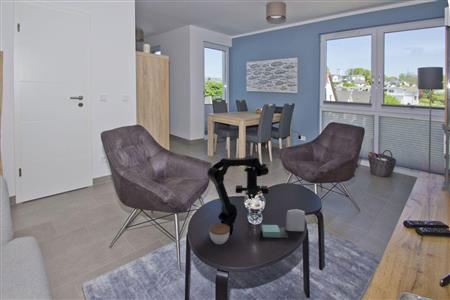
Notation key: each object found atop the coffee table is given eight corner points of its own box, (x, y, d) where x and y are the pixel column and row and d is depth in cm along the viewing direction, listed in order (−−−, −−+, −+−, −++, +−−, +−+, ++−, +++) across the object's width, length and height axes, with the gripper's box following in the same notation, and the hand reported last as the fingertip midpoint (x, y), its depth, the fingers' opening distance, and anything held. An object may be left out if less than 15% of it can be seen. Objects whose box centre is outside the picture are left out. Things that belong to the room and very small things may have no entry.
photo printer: (286, 231, 168) (287, 211, 166) (285, 227, 173) (286, 207, 170) (304, 232, 168) (306, 211, 165) (303, 228, 172) (304, 208, 169)
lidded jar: (233, 239, 159) (233, 223, 157) (222, 249, 150) (223, 232, 148) (216, 234, 165) (216, 218, 162) (205, 243, 156) (205, 226, 153)
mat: (266, 237, 162) (266, 236, 162) (263, 227, 172) (263, 227, 172) (288, 237, 161) (288, 237, 161) (284, 228, 172) (284, 227, 172)
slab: (263, 231, 161) (280, 232, 161) (261, 224, 169) (277, 225, 169) (263, 236, 162) (279, 237, 161) (261, 229, 169) (277, 229, 169)
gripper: (235, 182, 164) (235, 208, 168) (269, 182, 163) (268, 209, 167) (235, 175, 175) (235, 200, 178) (267, 176, 174) (267, 201, 177)
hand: (251, 203), depth 175 cm, fingers closed
